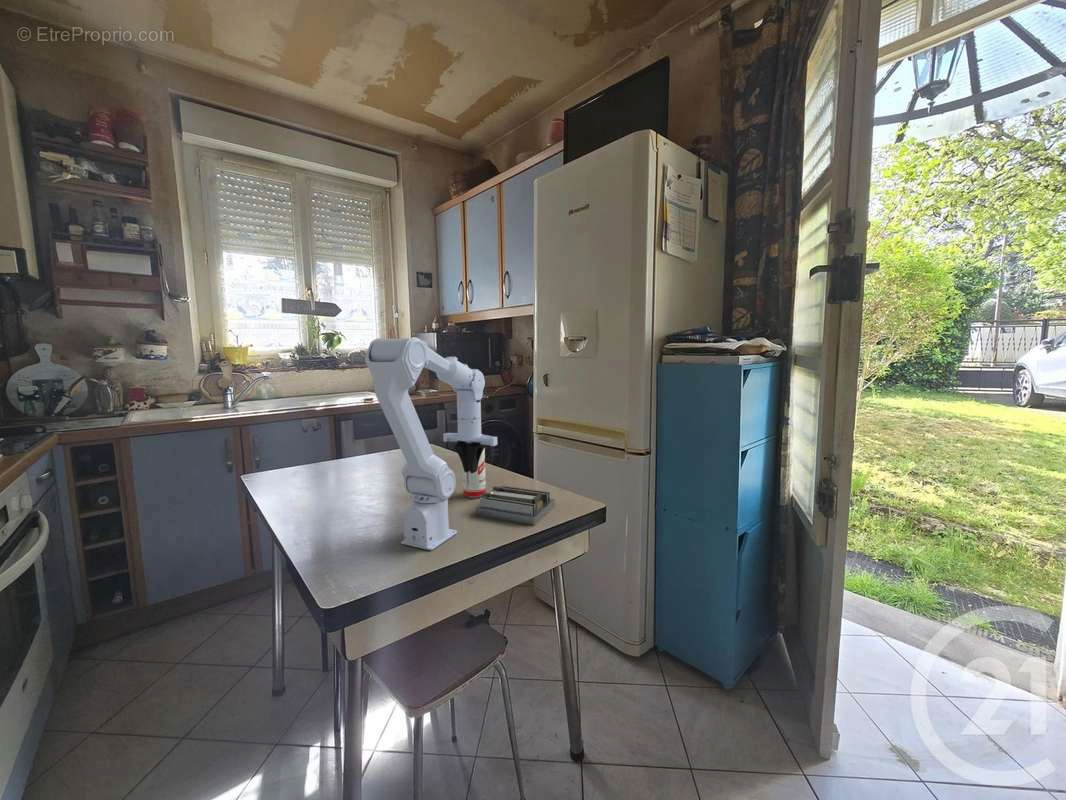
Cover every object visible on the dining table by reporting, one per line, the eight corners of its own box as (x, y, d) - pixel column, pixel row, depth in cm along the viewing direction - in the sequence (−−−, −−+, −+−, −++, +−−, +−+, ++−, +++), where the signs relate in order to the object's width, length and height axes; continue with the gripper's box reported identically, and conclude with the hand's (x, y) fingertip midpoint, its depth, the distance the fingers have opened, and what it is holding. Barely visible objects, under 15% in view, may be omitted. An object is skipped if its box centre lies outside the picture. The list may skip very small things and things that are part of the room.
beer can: (487, 491, 123) (486, 437, 121) (483, 499, 117) (481, 441, 115) (466, 491, 124) (464, 437, 122) (460, 498, 117) (459, 441, 116)
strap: (530, 503, 104) (530, 499, 104) (486, 497, 109) (486, 494, 109) (537, 498, 108) (537, 495, 107) (493, 493, 113) (493, 489, 113)
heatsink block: (534, 525, 99) (534, 506, 99) (475, 515, 106) (474, 497, 105) (554, 506, 111) (554, 489, 110) (500, 498, 117) (500, 482, 117)
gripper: (503, 417, 106) (503, 470, 107) (453, 414, 112) (455, 464, 113) (488, 421, 99) (489, 478, 101) (437, 418, 105) (439, 471, 107)
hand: (470, 471), depth 107 cm, fingers closed
